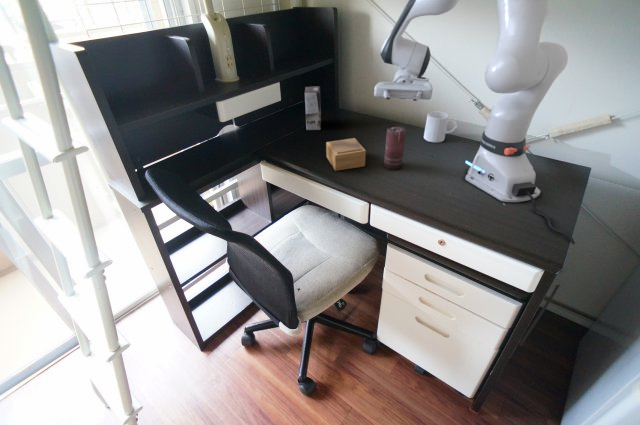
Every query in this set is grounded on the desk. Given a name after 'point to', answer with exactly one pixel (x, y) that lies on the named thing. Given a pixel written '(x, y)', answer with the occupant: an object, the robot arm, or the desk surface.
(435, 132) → the mug
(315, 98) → the coffee box
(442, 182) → the desk surface
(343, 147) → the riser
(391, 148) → the can
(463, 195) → the desk surface
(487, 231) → the desk surface
